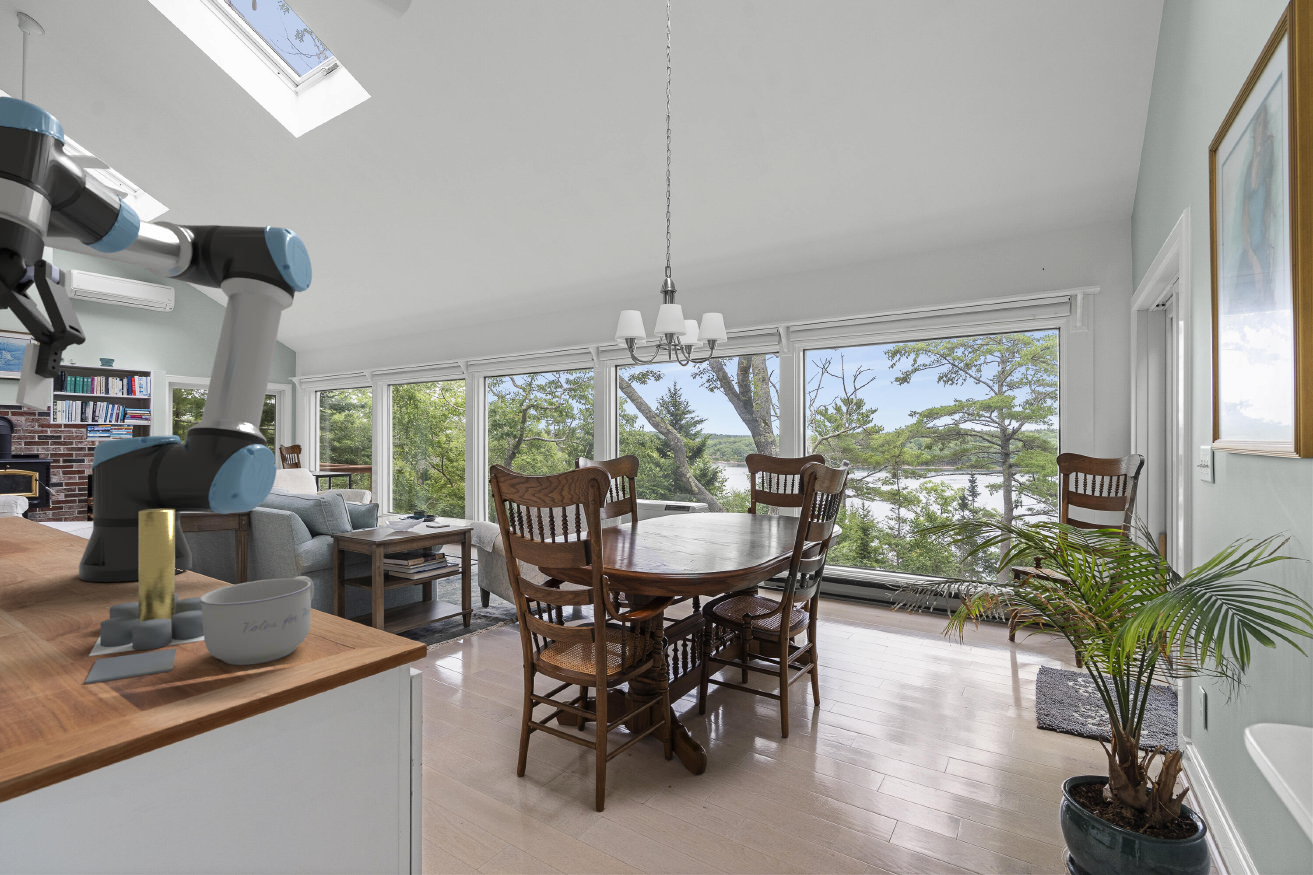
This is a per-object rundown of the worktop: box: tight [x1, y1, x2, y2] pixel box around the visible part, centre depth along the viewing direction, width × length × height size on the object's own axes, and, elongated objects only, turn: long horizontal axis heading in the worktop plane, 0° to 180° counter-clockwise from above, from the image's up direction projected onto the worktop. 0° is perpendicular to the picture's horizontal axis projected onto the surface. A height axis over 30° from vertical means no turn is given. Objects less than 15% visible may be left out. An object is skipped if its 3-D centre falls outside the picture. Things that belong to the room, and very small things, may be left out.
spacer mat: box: [88, 593, 205, 657], centre depth 82 cm, size 17×11×3 cm, turn 33°
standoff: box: [137, 509, 176, 622], centre depth 81 cm, size 4×4×15 cm
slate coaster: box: [84, 648, 178, 685], centre depth 70 cm, size 7×7×1 cm
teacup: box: [200, 575, 315, 666], centre depth 76 cm, size 14×11×8 cm
